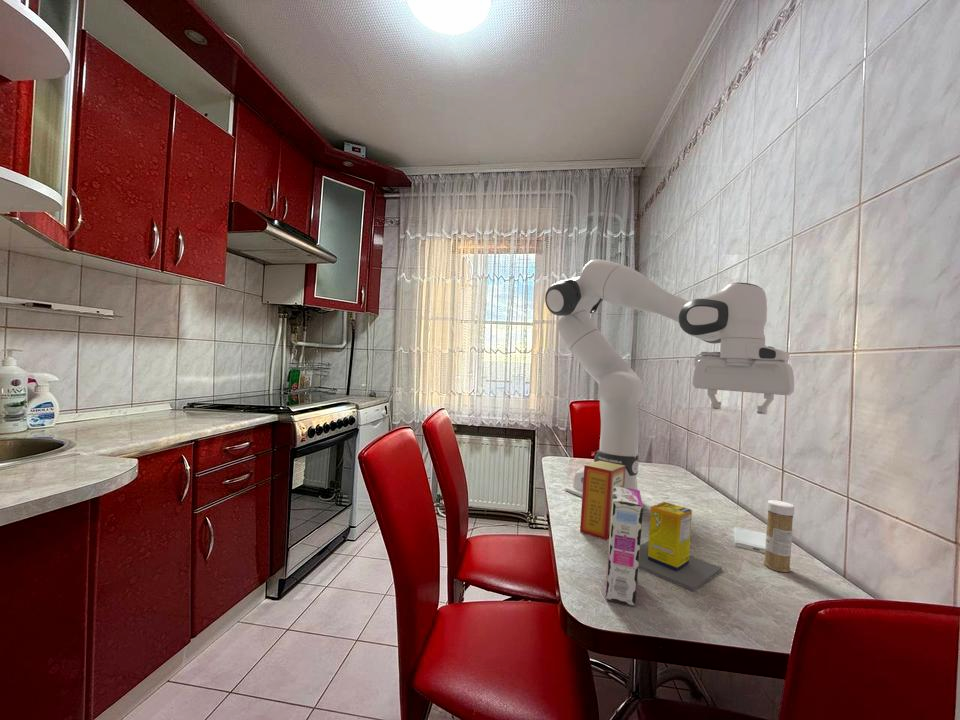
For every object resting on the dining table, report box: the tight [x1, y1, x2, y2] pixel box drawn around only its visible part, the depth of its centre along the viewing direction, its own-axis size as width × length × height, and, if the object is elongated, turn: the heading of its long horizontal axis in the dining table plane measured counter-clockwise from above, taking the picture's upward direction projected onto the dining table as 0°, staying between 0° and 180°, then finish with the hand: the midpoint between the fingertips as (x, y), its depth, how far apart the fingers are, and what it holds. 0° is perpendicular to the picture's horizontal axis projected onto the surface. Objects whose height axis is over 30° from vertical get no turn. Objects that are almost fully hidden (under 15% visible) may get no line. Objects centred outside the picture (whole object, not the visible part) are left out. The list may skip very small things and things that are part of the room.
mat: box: [638, 540, 723, 592], centre depth 85 cm, size 15×14×1 cm
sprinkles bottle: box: [763, 499, 795, 573], centre depth 87 cm, size 5×5×14 cm
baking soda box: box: [579, 461, 626, 541], centre depth 101 cm, size 10×6×16 cm
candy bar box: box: [605, 486, 644, 607], centre depth 74 cm, size 11×5×16 cm, turn 162°
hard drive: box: [733, 526, 766, 554], centre depth 100 cm, size 2×8×12 cm
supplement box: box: [648, 501, 693, 571], centre depth 84 cm, size 6×6×11 cm
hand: (738, 411), depth 98 cm, fingers open, 8 cm apart
